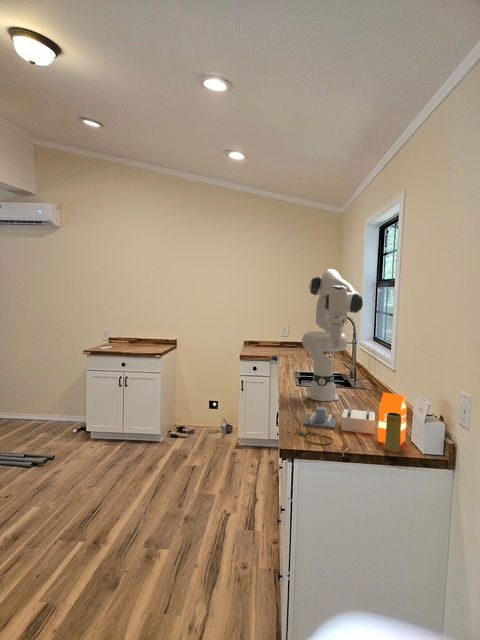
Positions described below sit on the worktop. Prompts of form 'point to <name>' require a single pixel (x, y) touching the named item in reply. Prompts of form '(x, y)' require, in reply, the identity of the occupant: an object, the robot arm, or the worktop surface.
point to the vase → (393, 432)
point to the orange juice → (391, 405)
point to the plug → (320, 414)
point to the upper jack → (358, 421)
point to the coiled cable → (314, 434)
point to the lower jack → (329, 422)
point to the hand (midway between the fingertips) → (336, 347)
